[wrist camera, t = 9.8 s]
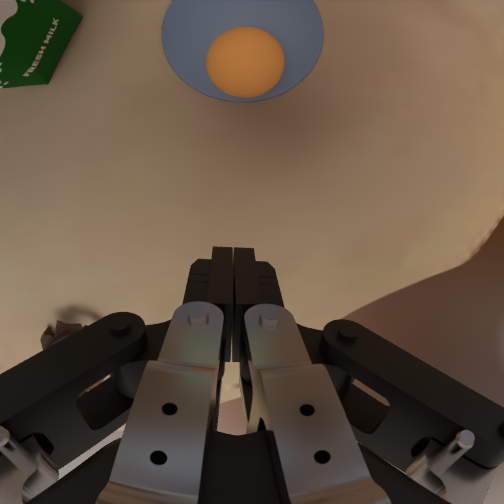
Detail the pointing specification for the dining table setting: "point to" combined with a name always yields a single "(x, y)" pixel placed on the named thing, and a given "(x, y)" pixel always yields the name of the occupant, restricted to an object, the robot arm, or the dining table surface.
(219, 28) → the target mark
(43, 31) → the milk carton
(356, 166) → the dining table surface
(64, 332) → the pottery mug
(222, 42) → the ball
